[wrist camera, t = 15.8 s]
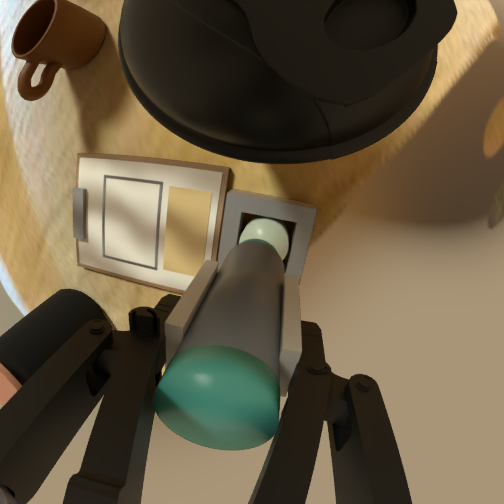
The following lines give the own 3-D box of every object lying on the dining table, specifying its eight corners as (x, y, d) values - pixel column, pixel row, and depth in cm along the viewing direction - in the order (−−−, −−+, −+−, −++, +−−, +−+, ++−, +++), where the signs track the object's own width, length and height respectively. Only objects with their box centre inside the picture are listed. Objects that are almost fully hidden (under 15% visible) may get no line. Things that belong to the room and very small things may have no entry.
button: (247, 210, 28) (243, 216, 25) (292, 218, 28) (293, 226, 25) (240, 252, 30) (235, 263, 27) (283, 260, 30) (283, 272, 27)
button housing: (232, 188, 28) (227, 192, 25) (314, 204, 27) (317, 209, 25) (221, 264, 30) (215, 274, 28) (297, 279, 30) (297, 290, 28)
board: (81, 152, 28) (73, 153, 27) (230, 167, 27) (227, 168, 26) (81, 263, 33) (74, 267, 32) (212, 296, 32) (209, 303, 31)
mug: (93, 102, 26) (35, 95, 17) (50, 106, 26) (-4, 105, 18) (114, 11, 22) (68, -16, 13) (69, 23, 22) (22, 6, 13)
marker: (232, 227, 21) (152, 357, 8) (291, 242, 21) (296, 394, 8) (222, 280, 22) (154, 431, 9) (276, 294, 22) (261, 458, 9)
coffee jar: (59, 330, 38) (-9, 397, 21) (55, 274, 34) (-34, 338, 17) (112, 358, 38) (50, 444, 21) (113, 302, 34) (27, 393, 17)
